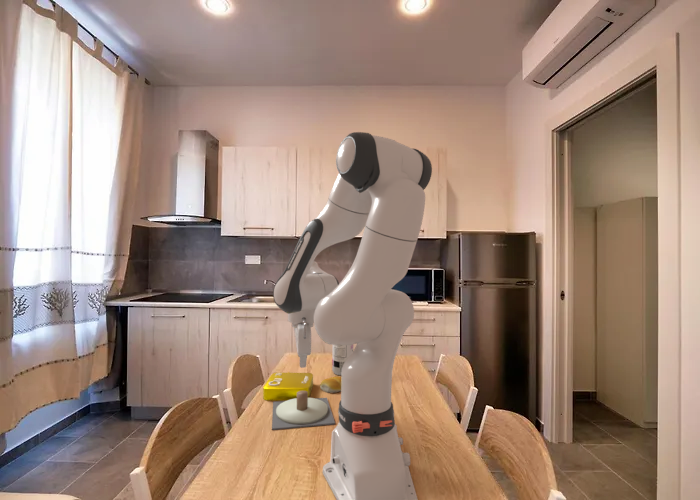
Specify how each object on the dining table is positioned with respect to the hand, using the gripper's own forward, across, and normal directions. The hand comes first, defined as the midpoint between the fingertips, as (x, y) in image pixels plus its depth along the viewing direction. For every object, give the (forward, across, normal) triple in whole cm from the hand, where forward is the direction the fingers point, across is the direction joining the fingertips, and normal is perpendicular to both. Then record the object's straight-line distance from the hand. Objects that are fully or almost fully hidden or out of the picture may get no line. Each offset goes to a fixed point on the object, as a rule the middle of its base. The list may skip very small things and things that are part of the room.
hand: (301, 361), depth 102 cm
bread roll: (+16, +16, -12) cm, 26 cm away
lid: (+15, -1, 0) cm, 15 cm away
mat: (+15, -1, 0) cm, 15 cm away
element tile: (+16, +16, +3) cm, 23 cm away
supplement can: (+16, +31, -18) cm, 40 cm away
